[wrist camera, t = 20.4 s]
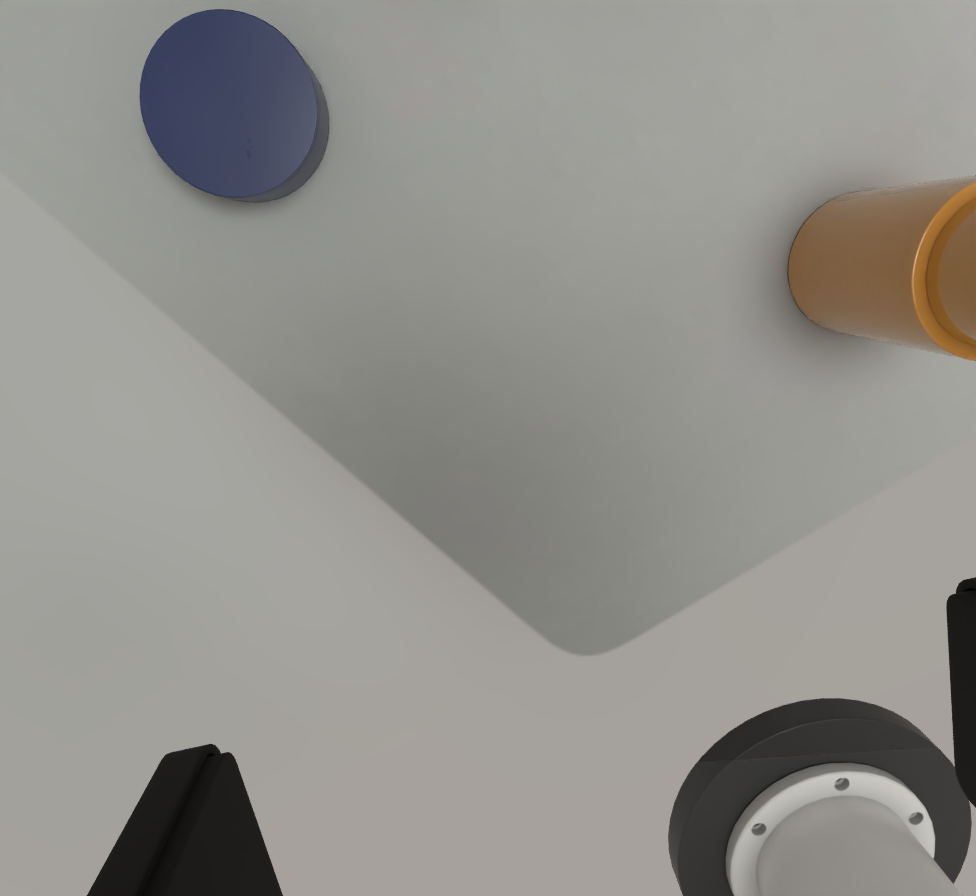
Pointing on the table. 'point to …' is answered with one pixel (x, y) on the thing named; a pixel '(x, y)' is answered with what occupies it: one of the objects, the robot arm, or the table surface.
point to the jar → (893, 266)
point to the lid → (233, 106)
